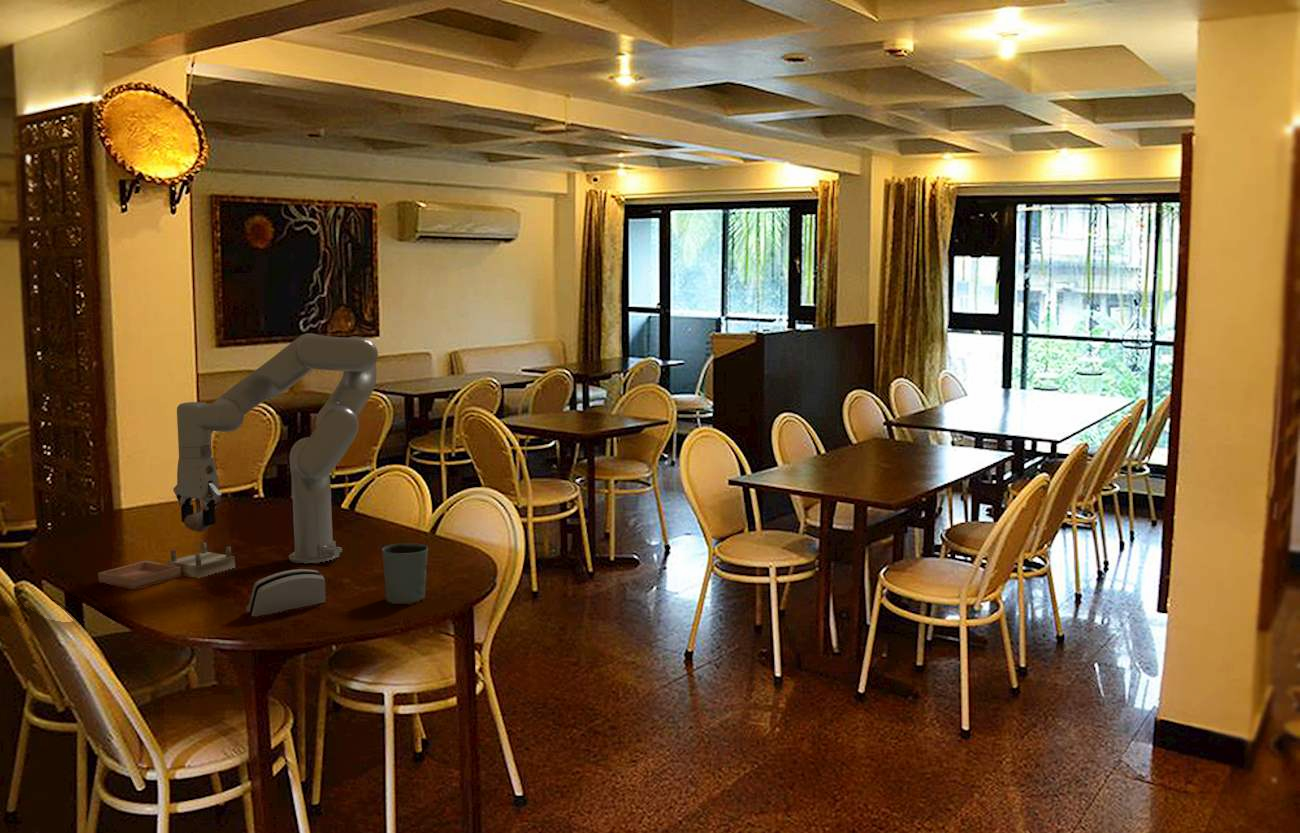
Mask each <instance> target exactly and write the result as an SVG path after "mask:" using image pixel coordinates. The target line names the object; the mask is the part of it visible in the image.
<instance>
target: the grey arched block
mask: <svg viewBox="0 0 1300 833" xmlns="http://www.w3.org/2000/svg"><path fill="white" fill-rule="evenodd" d="M252 587H253V588H252V591H251V594H250V599H249V603H248V604H247V606H246V611H247V612H249V613H248V614H250V613H251V617H252V616H260V615H266V614H271V613H276V614H278V613H277V612H281V613H283V612H282V611H285V610H289V609H294V608H299V607H303V606H309V605H314V604H319V603H324V602H326V601H327V600H326V580H325V578H324V576H323V575H322V574H321V573H320V572H319V570H315V569H305V568H302V569H301V568H299V569H290V570H285V571H280V572H276V573H273V574H271V575H268V576H266V577H264V578H261V579H259V580H257V581H255V583H254V584H253V586H252ZM271 615H272V614H271Z"/></svg>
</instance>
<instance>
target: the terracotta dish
mask: <svg viewBox="0 0 1300 833" xmlns="http://www.w3.org/2000/svg"><path fill="white" fill-rule="evenodd" d="M97 574H98V583H99V582H101V583H106V584H110V585H109V586H111V585H115V586H114V587H116V586H120V587H119V588H121V587H125V588H124V589H126V588H130V589H129V590H131V589H137V588H140V587H144V586H147V585H151V584H154V583H158V582H162V581H165V582H167V581H166V580H169V581H171V580H170V579H172V580H174V579H173V578H176V579H178V578H177V577H180V578H182V575H181V567H178V566H172V565H168V563H167V564H166V563H161V562H155V561H149V560H143V561H139V562H135V563H131V564H127V565H124V566H119V567H117V568H115V567H114V568H112V569H108V570H104V571H100V572H98V573H97ZM101 583H100V584H101ZM162 583H163V582H162ZM106 584H105V585H106ZM158 584H159V583H158ZM151 586H152V585H151ZM144 588H145V587H144ZM137 590H138V589H137Z"/></svg>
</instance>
